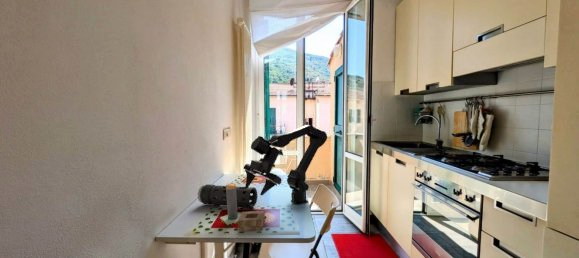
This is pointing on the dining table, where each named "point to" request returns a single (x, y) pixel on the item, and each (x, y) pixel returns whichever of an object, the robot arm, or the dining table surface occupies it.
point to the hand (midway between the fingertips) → (253, 191)
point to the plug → (231, 201)
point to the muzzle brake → (219, 197)
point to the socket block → (251, 221)
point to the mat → (227, 221)
